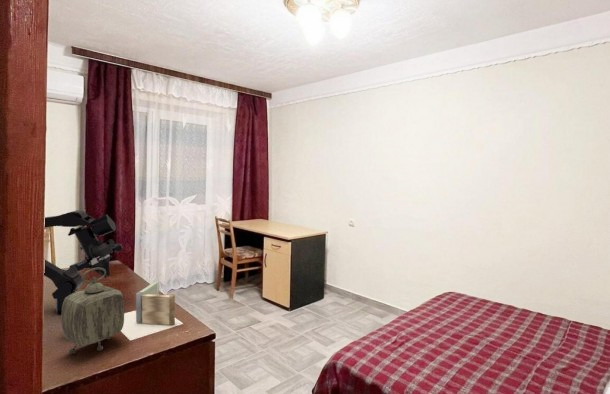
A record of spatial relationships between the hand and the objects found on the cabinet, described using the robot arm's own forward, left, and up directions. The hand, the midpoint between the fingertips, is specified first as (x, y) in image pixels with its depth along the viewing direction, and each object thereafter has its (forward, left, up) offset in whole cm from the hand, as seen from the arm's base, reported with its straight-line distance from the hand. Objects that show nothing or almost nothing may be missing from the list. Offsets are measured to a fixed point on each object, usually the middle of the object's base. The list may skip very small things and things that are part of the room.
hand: (107, 277), depth 132 cm
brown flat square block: (+8, -28, -12) cm, 31 cm away
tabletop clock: (-12, -31, -13) cm, 36 cm away
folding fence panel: (+8, -18, -12) cm, 23 cm away
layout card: (+6, -22, -12) cm, 26 cm away
